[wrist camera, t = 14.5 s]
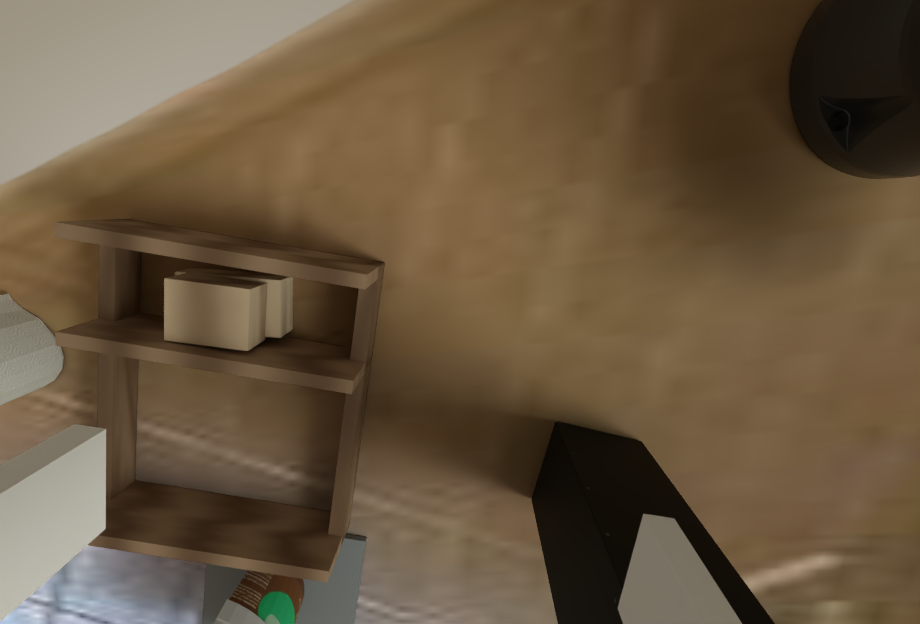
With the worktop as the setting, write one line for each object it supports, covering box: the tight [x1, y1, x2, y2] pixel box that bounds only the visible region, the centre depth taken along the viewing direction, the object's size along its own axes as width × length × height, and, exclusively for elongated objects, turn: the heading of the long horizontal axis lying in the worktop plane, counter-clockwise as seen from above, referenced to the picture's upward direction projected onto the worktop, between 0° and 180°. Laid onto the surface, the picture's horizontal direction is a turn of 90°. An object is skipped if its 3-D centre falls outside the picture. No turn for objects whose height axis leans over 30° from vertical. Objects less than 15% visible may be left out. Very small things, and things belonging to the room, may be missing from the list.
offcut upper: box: [164, 272, 268, 351], centre depth 36 cm, size 6×4×3 cm
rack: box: [54, 219, 385, 583], centre depth 38 cm, size 21×24×7 cm
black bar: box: [532, 422, 775, 624], centre depth 29 cm, size 8×8×28 cm
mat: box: [203, 534, 367, 624], centre depth 46 cm, size 14×14×1 cm
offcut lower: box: [175, 267, 293, 338], centre depth 39 cm, size 8×4×3 cm, turn 85°
